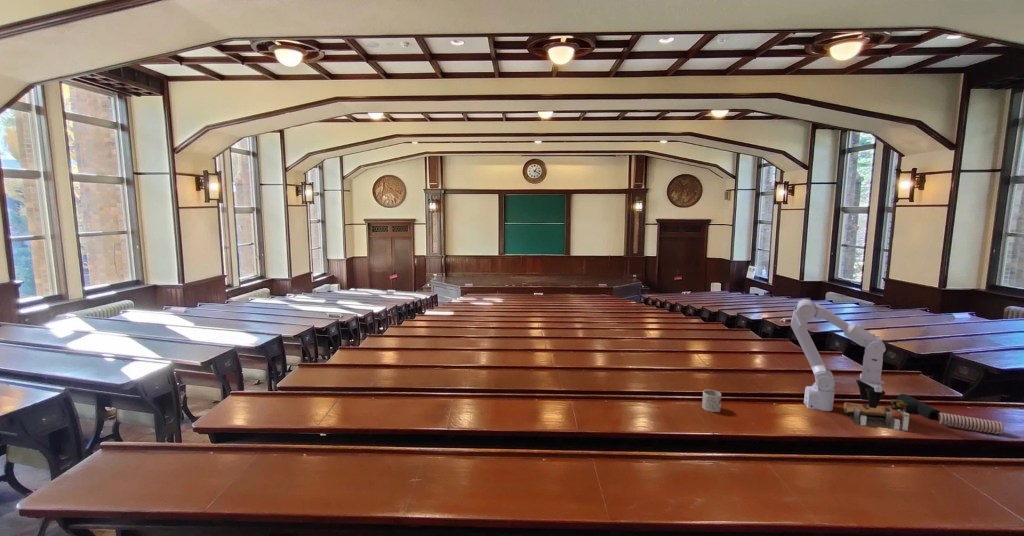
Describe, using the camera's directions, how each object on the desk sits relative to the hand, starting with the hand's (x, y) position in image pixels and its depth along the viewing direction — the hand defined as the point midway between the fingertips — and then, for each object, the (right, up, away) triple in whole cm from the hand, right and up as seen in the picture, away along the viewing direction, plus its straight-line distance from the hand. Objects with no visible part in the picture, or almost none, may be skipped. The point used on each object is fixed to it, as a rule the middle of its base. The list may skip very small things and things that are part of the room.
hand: (868, 403), depth 177 cm
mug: (-56, -4, +10) cm, 57 cm away
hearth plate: (0, -6, -3) cm, 7 cm away
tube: (0, -5, +1) cm, 5 cm away
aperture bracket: (+5, -6, -9) cm, 12 cm away
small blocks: (-2, -7, -6) cm, 9 cm away
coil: (+31, -8, -7) cm, 33 cm away
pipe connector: (+20, -6, +6) cm, 22 cm away
